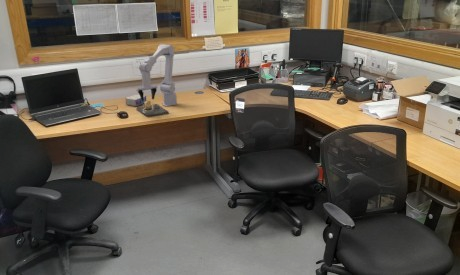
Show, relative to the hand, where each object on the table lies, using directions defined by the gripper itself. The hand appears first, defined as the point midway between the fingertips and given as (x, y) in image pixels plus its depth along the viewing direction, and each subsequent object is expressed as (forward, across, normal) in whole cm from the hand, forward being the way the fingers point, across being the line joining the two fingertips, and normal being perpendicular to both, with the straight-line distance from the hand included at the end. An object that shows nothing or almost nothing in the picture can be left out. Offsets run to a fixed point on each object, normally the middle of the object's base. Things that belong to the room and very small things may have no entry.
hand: (147, 99), depth 275 cm
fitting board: (+9, -3, -1) cm, 10 cm away
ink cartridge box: (+7, +5, -22) cm, 24 cm away
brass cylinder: (+8, +1, +2) cm, 8 cm away
